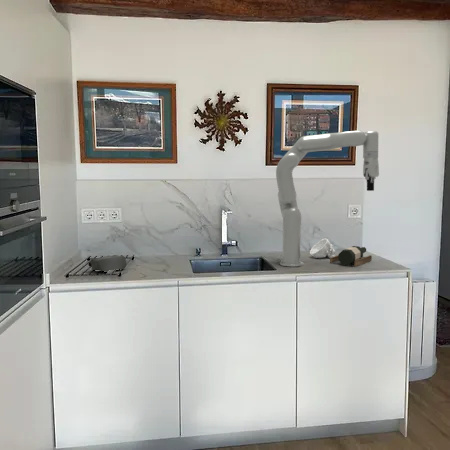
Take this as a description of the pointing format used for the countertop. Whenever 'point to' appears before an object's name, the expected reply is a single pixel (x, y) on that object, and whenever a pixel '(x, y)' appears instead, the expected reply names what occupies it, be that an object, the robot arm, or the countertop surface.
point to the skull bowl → (322, 249)
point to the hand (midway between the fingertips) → (370, 190)
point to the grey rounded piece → (108, 263)
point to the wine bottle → (351, 255)
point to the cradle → (356, 263)
